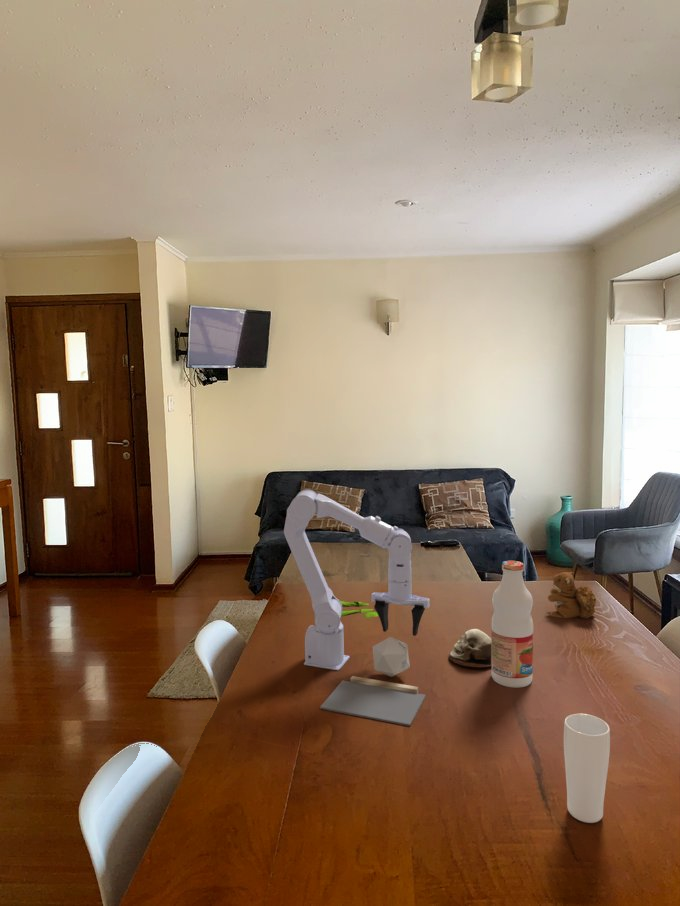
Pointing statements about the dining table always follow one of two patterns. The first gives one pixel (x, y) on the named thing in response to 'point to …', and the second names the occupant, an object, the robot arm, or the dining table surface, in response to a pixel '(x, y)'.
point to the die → (390, 656)
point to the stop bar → (384, 684)
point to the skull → (472, 649)
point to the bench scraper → (374, 702)
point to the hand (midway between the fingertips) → (400, 632)
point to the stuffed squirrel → (571, 598)
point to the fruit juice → (512, 629)
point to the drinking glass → (586, 765)
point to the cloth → (367, 615)
